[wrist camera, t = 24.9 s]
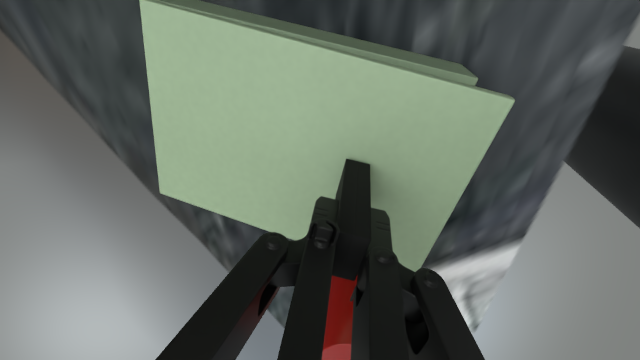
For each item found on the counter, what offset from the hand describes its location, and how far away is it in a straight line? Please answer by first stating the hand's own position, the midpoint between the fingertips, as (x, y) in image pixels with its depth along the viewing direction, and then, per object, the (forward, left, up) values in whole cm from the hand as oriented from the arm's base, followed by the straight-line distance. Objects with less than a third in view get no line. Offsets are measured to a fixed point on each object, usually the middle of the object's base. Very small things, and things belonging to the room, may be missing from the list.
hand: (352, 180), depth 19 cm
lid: (+4, 0, -2) cm, 4 cm away
